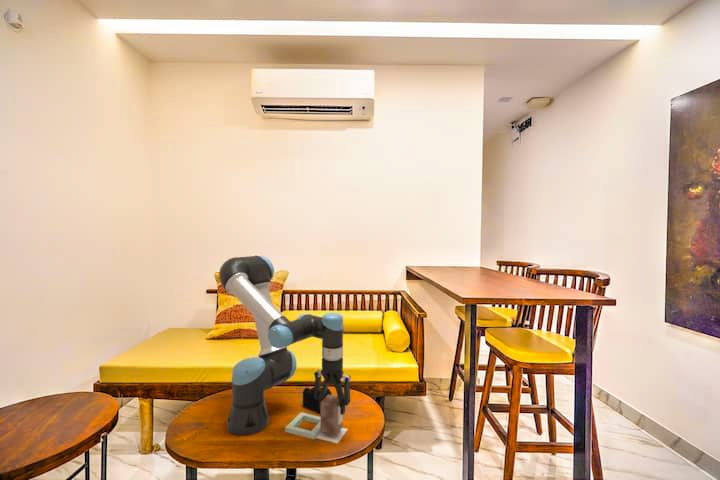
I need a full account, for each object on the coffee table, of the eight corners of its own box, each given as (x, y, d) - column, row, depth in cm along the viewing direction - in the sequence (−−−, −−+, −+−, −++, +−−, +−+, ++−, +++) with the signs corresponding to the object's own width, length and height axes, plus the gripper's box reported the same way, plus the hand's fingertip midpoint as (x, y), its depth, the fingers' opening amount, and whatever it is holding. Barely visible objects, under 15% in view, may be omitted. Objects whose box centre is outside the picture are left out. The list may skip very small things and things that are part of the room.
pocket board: (285, 432, 122) (285, 427, 122) (301, 417, 132) (301, 412, 132) (314, 440, 118) (314, 435, 118) (328, 424, 128) (328, 418, 128)
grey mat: (314, 438, 119) (314, 437, 119) (326, 425, 127) (326, 423, 127) (337, 445, 115) (337, 443, 115) (347, 430, 124) (347, 429, 124)
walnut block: (320, 432, 119) (320, 402, 119) (327, 423, 125) (328, 394, 125) (335, 436, 117) (336, 405, 117) (342, 426, 123) (342, 397, 123)
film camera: (341, 407, 140) (342, 386, 140) (327, 417, 132) (327, 395, 132) (314, 396, 149) (314, 376, 148) (299, 406, 140) (299, 385, 140)
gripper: (304, 356, 120) (303, 420, 121) (352, 365, 113) (352, 432, 114) (314, 350, 127) (313, 409, 128) (360, 357, 120) (360, 420, 121)
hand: (331, 420), depth 121 cm, fingers closed on walnut block, 6 cm apart
